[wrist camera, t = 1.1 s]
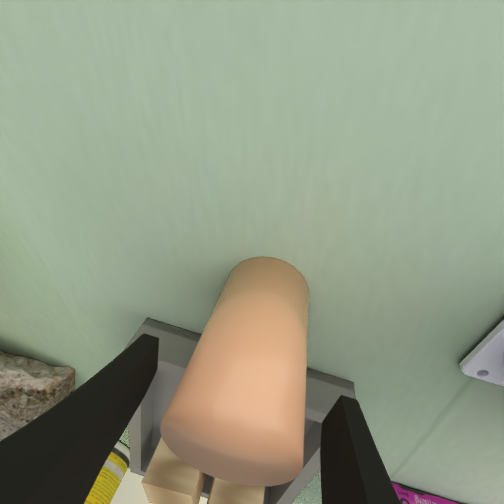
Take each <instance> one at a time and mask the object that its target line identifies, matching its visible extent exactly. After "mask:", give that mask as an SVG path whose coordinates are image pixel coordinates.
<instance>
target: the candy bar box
mask: <svg viewBox="0 0 504 504" xmlns="http://www.w3.org/2000/svg"><path fill="white" fill-rule="evenodd" d="M391 483H392V482H391ZM392 485H393V487H394V489H395V491H396V493H397V496H398V498H399V500H400V502H401V504H459V503H456V502H453V501H450V500H447V499H444V498H440V497H437V496H434V495H430V494H427V493H424V492H421V491H418V490H414V489H411V488H408V487H405V486H402V485H399V484H396V483H392Z"/></svg>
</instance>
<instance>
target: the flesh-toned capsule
mask: <svg viewBox="0 0 504 504" xmlns="http://www.w3.org/2000/svg"><path fill="white" fill-rule="evenodd" d="M308 312H309V289H308V285H307V282H306V280H305V279H304V277H303V276H302V274H301V273H300V272H299V271H298V270H297V269H296V268H294V267H293V266H292V265H290V264H288V263H286V262H284V261H282V260H279V259H276V258H271V257H255V258H251V259H248V260H245V261H243V262H241V263H240V264H238V265H237V266H236V267H235V268H234V269H233V270H232V271H231V273H230V275H229V277H228V279H227V281H226V283H225V286H224V288H223V290H222V292H221V294H220V296H219V299H218V301H217V303H216V305H215V307H214V309H213V312H212V314H211V316H210V318H209V320H208V322H207V325H206V327H205V329H204V331H203V333H202V335H201V337H200V340H199V342H198V344H197V346H196V348H195V350H194V353H193V355H192V357H191V359H190V361H189V363H188V366H187V368H186V370H185V372H184V374H183V376H182V379H181V381H180V383H179V385H178V387H177V389H176V392H175V394H174V396H173V398H172V400H171V402H170V405H169V407H168V409H167V411H166V413H165V415H164V418H163V420H162V422H161V426H160V432H161V436H162V438H163V440H164V442H165V444H166V445H167V446H168V448H169V449H170V450H171V451H172V452H173V453H174V454H175V455H176V456H177V457H179V458H180V459H181V460H183V461H184V462H185V463H187V464H188V465H190V466H192V467H194V468H195V469H197V470H199V471H201V472H203V473H205V474H208V475H210V476H213V477H215V478H218V479H221V480H224V481H228V482H232V483H236V484H241V485H248V486H275V485H281V484H284V483H287V482H290V481H292V480H293V479H295V478H296V477H297V476H298V475H299V474H300V472H301V471H302V468H303V454H304V426H305V397H306V369H307V340H308Z"/></svg>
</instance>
